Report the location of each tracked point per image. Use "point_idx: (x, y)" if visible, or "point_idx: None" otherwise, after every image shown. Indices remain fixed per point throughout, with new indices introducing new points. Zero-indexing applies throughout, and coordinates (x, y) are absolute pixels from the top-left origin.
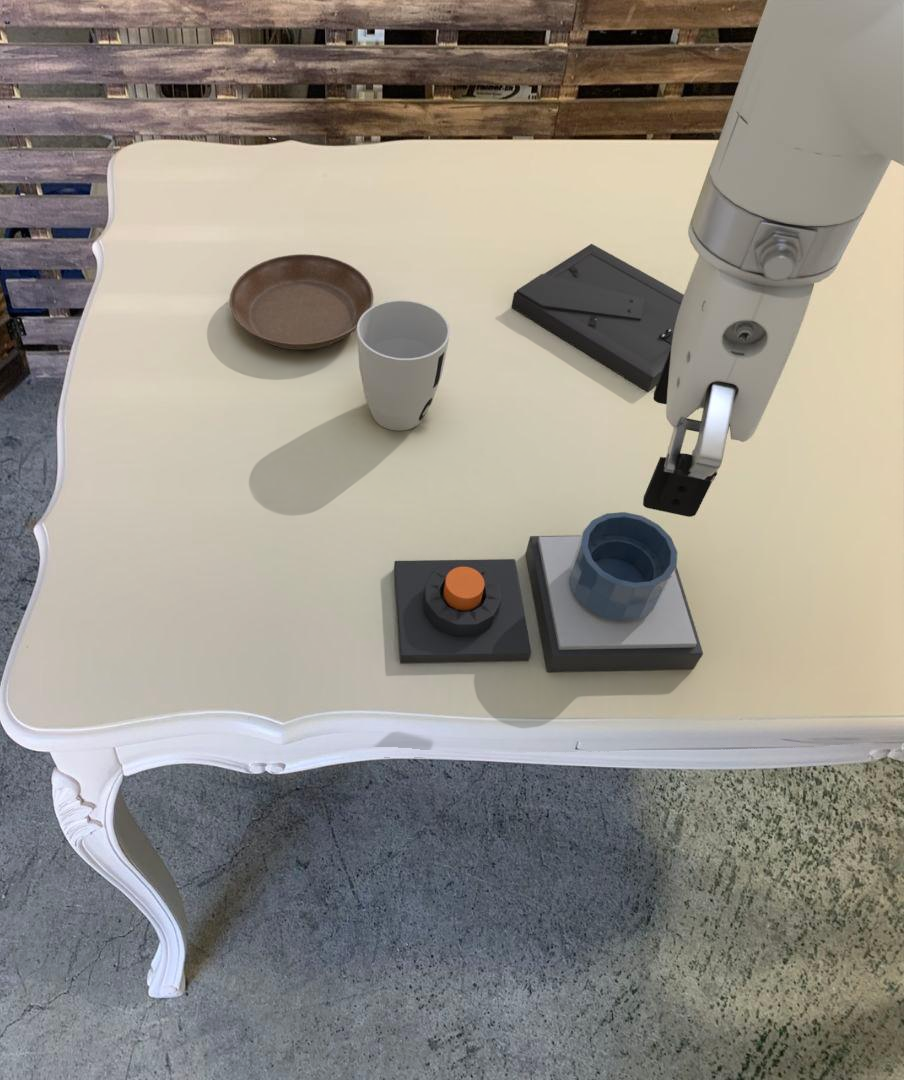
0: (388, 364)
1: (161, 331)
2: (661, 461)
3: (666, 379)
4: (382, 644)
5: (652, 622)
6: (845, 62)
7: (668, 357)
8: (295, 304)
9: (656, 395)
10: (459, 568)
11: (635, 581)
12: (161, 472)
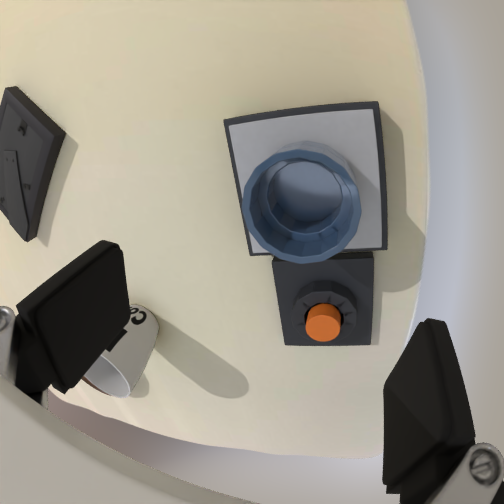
0: (133, 383)
1: (139, 411)
2: (399, 492)
3: (97, 351)
4: (353, 346)
5: (350, 152)
6: None
7: (66, 390)
8: None
9: (122, 327)
10: (308, 331)
11: (303, 167)
12: (231, 425)
